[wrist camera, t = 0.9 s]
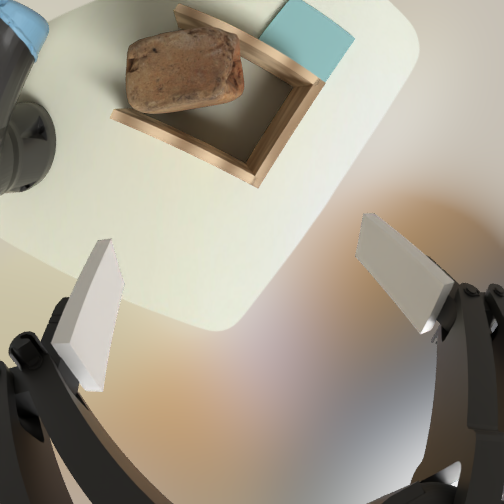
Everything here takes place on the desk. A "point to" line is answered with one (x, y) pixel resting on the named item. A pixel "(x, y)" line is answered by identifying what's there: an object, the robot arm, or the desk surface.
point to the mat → (308, 38)
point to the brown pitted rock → (184, 70)
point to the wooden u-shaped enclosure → (278, 129)
